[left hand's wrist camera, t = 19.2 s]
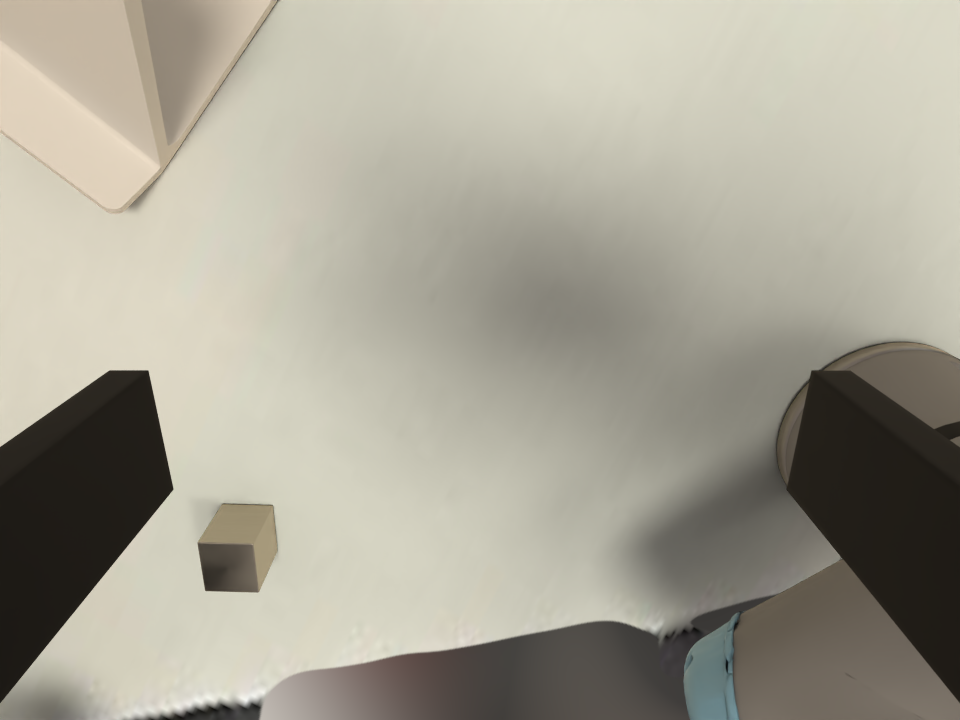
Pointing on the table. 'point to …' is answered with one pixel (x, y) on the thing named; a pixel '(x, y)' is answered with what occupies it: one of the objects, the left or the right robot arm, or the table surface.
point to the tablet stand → (115, 83)
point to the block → (238, 548)
